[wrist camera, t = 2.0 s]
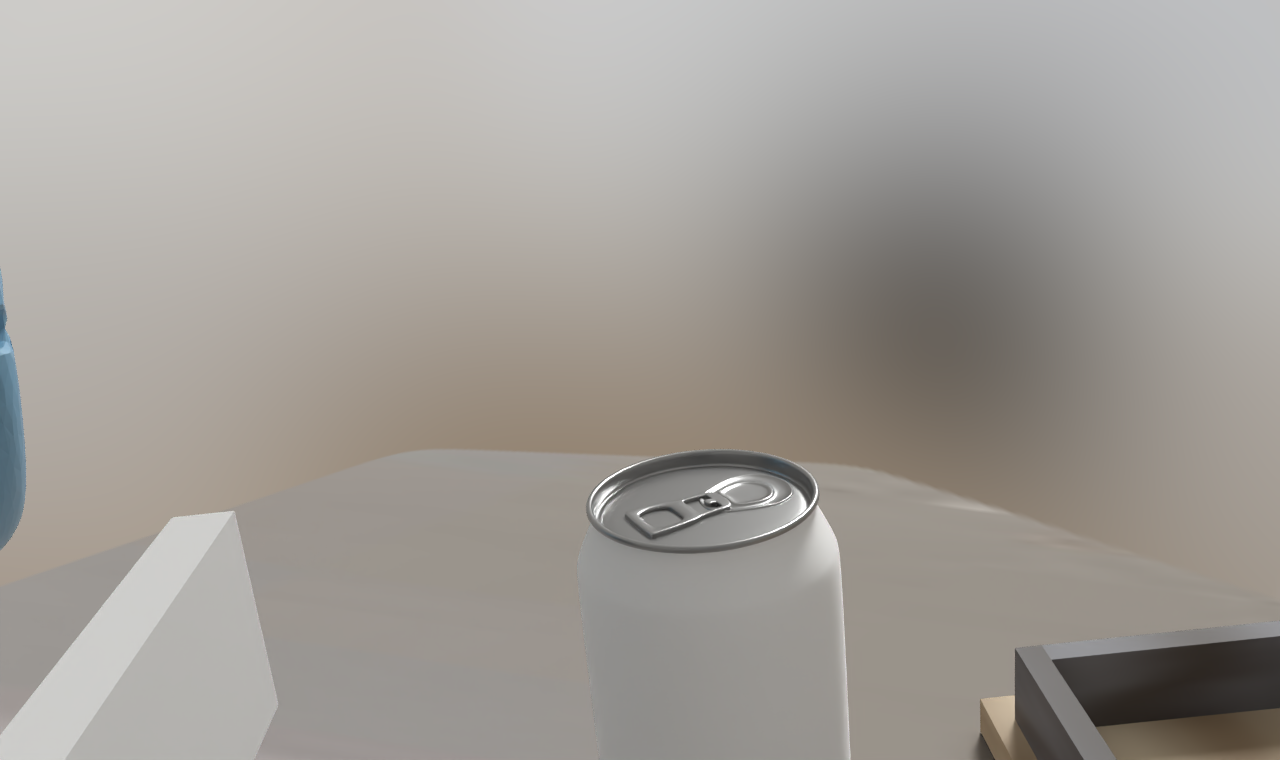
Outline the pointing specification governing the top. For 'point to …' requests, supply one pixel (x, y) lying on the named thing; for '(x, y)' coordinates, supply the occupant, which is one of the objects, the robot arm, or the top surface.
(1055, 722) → the seat block
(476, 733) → the top surface
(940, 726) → the top surface
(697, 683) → the can
